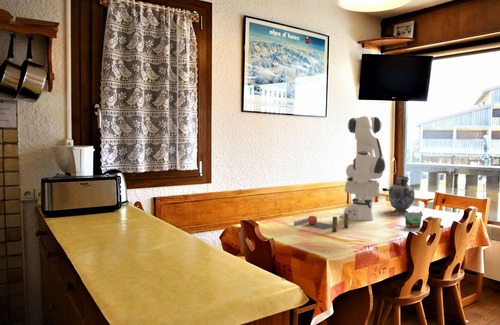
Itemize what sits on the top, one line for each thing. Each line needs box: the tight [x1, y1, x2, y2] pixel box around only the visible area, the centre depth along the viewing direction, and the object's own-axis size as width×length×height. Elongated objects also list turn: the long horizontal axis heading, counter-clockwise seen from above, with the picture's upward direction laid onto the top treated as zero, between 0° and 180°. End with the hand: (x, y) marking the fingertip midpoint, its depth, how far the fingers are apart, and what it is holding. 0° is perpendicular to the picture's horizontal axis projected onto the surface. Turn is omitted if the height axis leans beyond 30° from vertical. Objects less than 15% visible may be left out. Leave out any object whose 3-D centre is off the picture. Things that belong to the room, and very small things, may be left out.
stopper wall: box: [293, 215, 318, 227], centre depth 249 cm, size 2×24×2 cm, turn 138°
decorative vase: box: [388, 175, 415, 214], centre depth 292 cm, size 21×19×28 cm
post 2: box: [343, 212, 350, 229], centre depth 237 cm, size 3×3×9 cm
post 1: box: [331, 216, 338, 233], centre depth 226 cm, size 3×3×9 cm
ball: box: [307, 215, 318, 225], centre depth 244 cm, size 6×6×6 cm
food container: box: [404, 210, 424, 229], centre depth 241 cm, size 12×6×10 cm, turn 105°
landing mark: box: [305, 221, 332, 230], centre depth 241 cm, size 14×14×1 cm
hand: (361, 202), depth 222 cm, fingers closed
